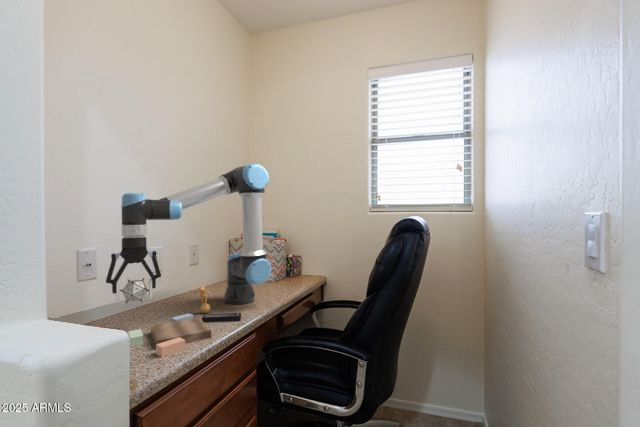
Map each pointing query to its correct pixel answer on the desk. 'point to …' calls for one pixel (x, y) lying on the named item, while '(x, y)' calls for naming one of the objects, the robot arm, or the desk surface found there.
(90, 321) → the desk surface
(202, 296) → the figurine
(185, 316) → the slate brick
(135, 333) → the sage brick
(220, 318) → the multiport hub
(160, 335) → the walnut board
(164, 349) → the terracotta brick
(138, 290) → the game die
